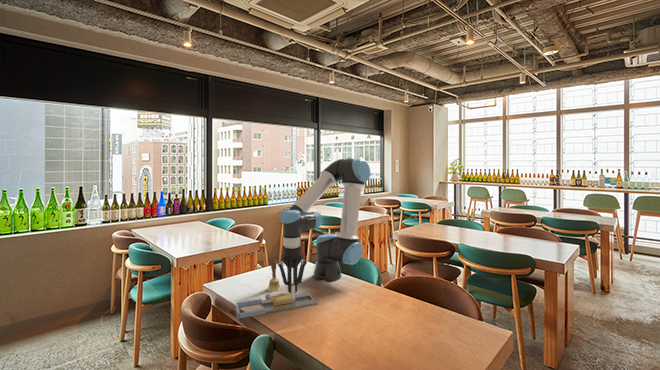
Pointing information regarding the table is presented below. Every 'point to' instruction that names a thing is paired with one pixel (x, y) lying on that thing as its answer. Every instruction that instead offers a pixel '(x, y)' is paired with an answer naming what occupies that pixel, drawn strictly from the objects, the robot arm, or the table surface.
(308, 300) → the slot board
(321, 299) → the table surface
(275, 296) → the hammer
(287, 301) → the yellow square block
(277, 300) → the chip
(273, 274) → the hand bell
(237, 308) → the tray
